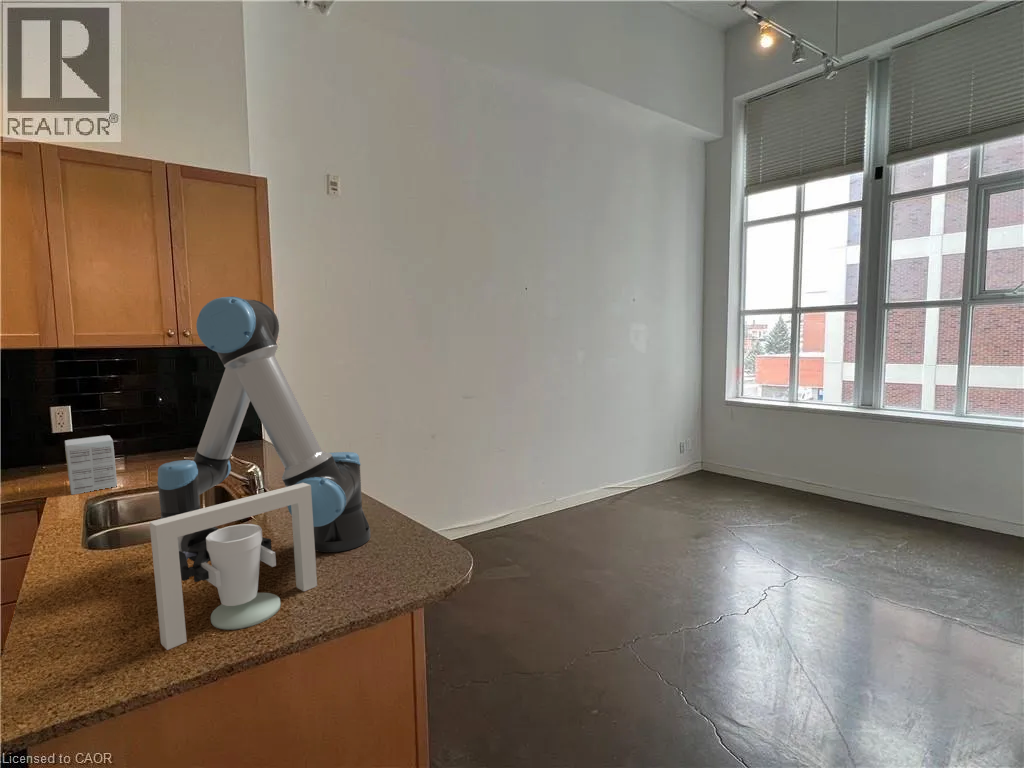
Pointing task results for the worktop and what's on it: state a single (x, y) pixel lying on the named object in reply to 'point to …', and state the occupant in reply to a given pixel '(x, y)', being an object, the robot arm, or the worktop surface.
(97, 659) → the worktop surface
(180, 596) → the keeper arch
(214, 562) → the foam cup
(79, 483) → the supplement box
